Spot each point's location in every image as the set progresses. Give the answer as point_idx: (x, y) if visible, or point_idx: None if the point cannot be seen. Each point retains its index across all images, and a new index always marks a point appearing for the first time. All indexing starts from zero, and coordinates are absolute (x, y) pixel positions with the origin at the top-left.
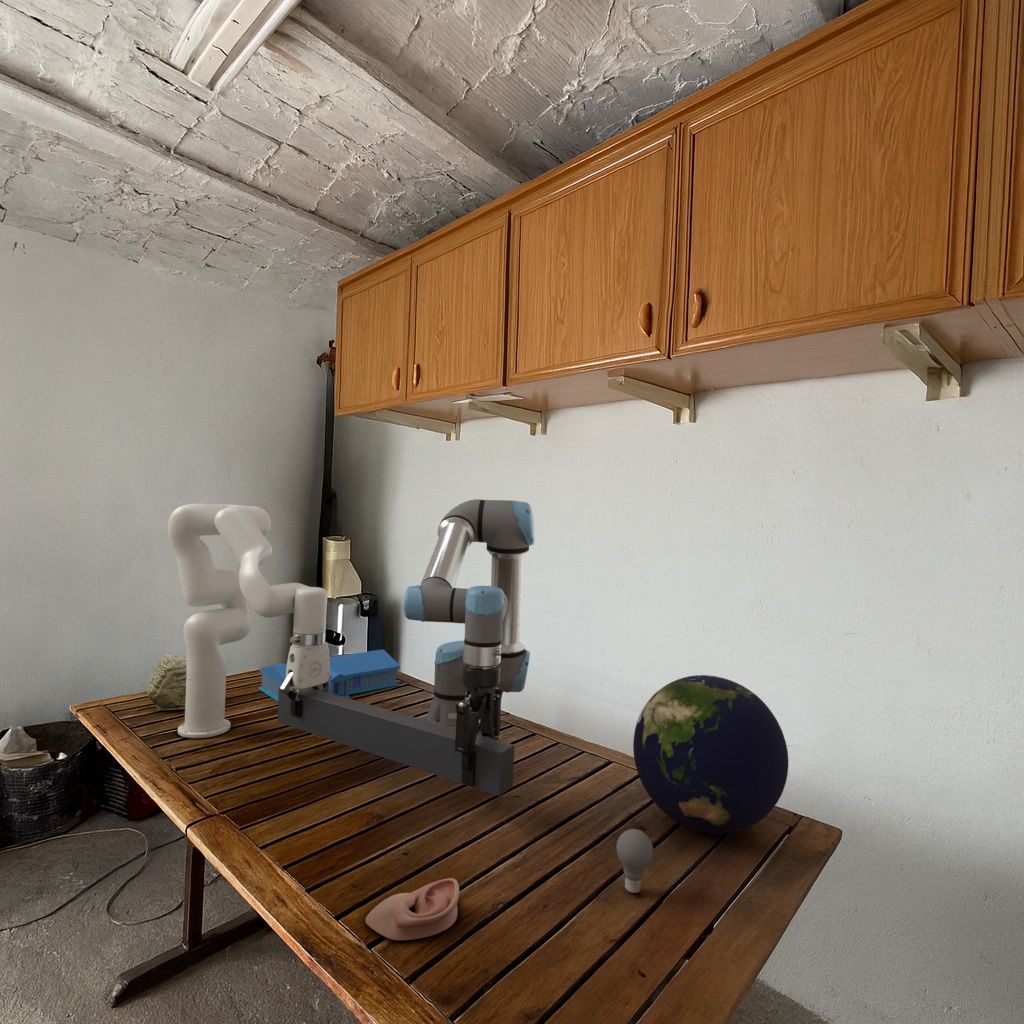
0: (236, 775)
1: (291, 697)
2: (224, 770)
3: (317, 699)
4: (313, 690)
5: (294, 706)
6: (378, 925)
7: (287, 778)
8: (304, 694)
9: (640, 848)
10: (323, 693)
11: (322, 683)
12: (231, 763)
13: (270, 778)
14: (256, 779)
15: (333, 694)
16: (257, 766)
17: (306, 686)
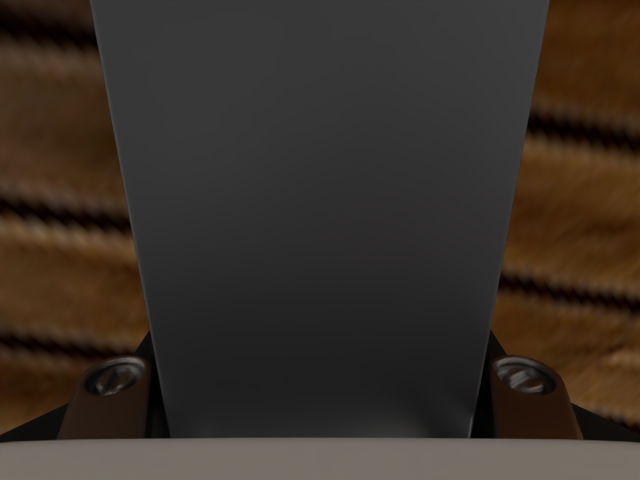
0: (615, 254)
1: (616, 430)
2: (596, 322)
3: (541, 29)
4: (229, 433)
5: (496, 345)
6: None
7: (547, 51)
8: (450, 392)
9: None
10: (214, 222)
11: (79, 440)
12: (534, 351)
13: (581, 118)
14: (615, 159)
15: (102, 15)
16: (508, 260)
17: (587, 465)
